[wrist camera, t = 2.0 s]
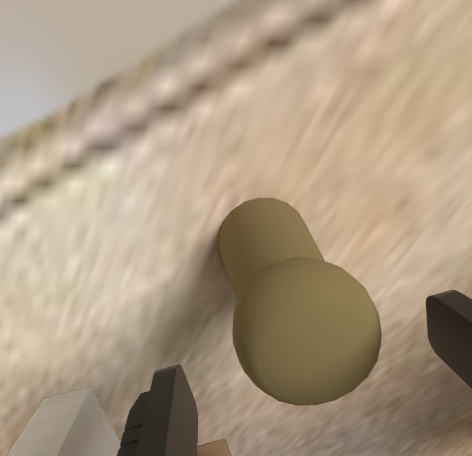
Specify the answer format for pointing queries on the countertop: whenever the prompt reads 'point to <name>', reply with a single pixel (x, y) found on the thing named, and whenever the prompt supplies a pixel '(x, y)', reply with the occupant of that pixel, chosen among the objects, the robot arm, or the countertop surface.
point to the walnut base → (214, 449)
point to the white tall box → (68, 428)
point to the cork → (295, 308)
